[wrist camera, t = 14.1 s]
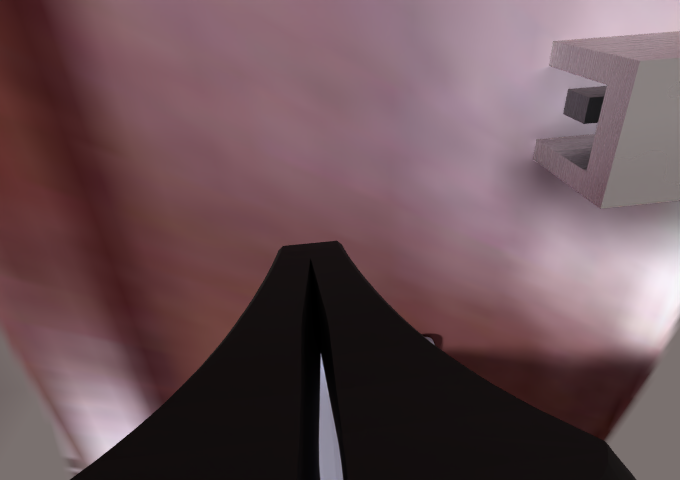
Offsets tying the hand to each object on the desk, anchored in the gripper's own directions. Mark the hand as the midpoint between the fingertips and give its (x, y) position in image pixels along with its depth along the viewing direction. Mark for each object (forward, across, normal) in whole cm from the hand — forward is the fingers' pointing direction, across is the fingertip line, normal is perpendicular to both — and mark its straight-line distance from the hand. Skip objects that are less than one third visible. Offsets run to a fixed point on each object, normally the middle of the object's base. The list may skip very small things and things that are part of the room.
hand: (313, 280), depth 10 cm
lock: (+10, -14, -1) cm, 17 cm away
